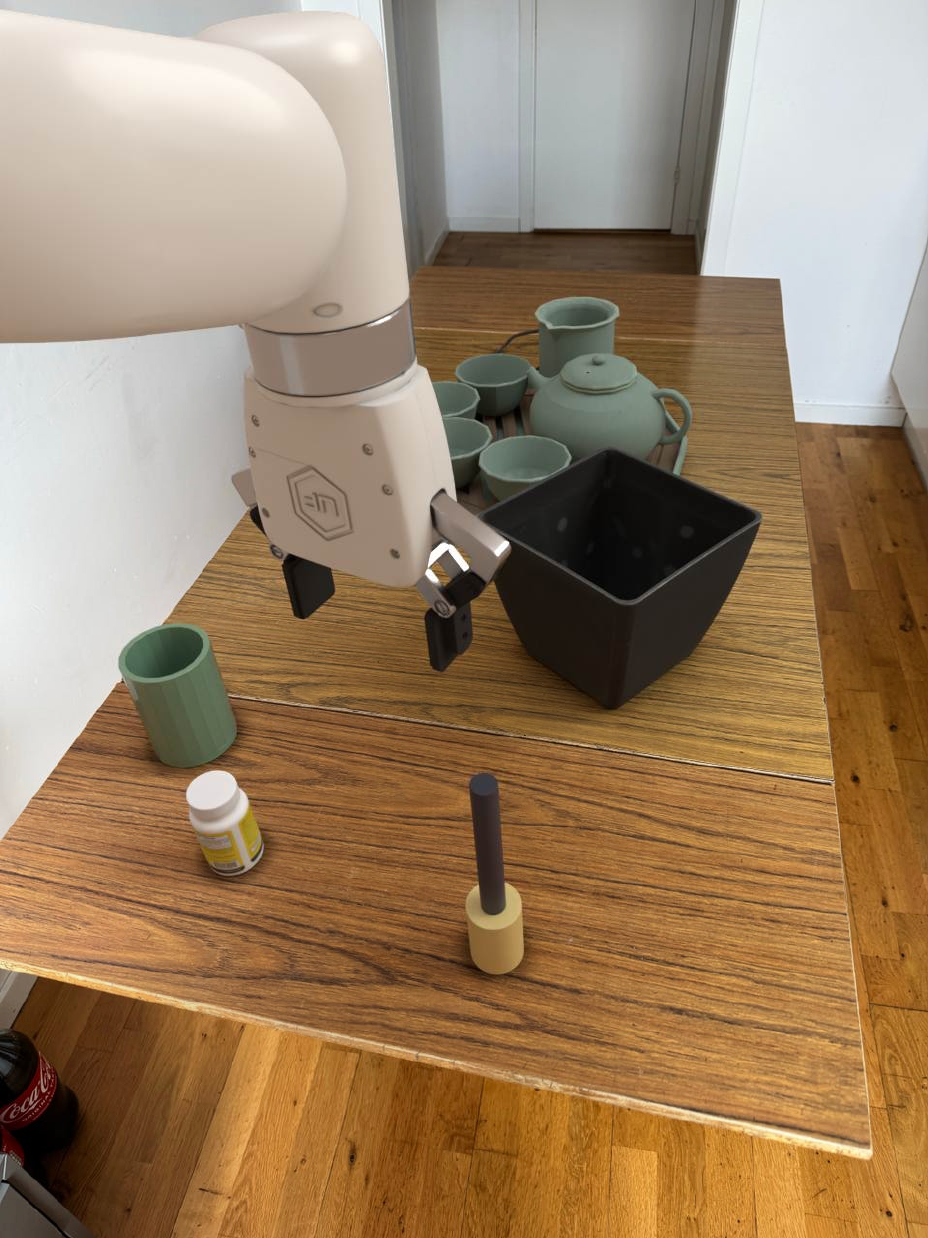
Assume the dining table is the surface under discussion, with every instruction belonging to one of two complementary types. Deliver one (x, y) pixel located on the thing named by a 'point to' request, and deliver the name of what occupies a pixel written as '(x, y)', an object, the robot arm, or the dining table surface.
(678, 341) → the dining table surface
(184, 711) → the green pencil cup
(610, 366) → the tea set
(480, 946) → the bottle brush
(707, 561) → the flower pot
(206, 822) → the supplement bottle
